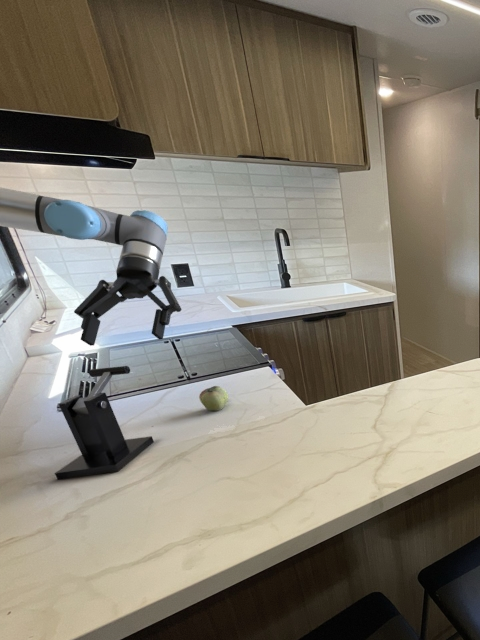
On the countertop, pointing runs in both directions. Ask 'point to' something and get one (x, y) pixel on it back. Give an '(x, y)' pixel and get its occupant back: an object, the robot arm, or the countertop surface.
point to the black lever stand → (98, 439)
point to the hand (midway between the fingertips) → (122, 339)
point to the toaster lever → (99, 385)
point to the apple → (214, 398)
